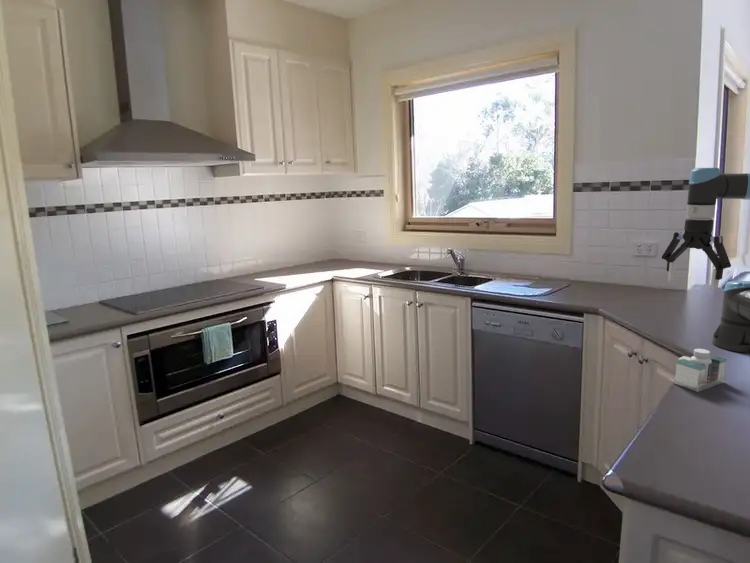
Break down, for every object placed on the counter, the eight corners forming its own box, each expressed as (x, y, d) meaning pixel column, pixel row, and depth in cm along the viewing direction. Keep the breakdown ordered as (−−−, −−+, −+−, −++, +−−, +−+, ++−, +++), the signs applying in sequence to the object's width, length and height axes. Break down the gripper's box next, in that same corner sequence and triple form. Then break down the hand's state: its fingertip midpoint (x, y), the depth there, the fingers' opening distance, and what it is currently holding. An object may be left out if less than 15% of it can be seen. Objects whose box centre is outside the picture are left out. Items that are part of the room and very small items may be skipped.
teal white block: (699, 374, 158) (702, 352, 157) (724, 382, 152) (727, 359, 151) (673, 383, 152) (675, 360, 151) (697, 392, 146) (700, 368, 145)
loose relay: (682, 367, 164) (683, 355, 163) (699, 372, 160) (701, 360, 159) (676, 371, 162) (677, 358, 161) (694, 375, 158) (695, 363, 157)
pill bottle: (701, 375, 155) (705, 347, 153) (713, 383, 150) (717, 353, 148) (684, 376, 155) (687, 348, 153) (695, 383, 149) (699, 354, 148)
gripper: (654, 216, 170) (647, 279, 175) (736, 222, 149) (726, 294, 153) (668, 215, 174) (661, 277, 178) (750, 221, 152) (740, 291, 157)
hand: (691, 285), depth 166 cm, fingers open, 13 cm apart
